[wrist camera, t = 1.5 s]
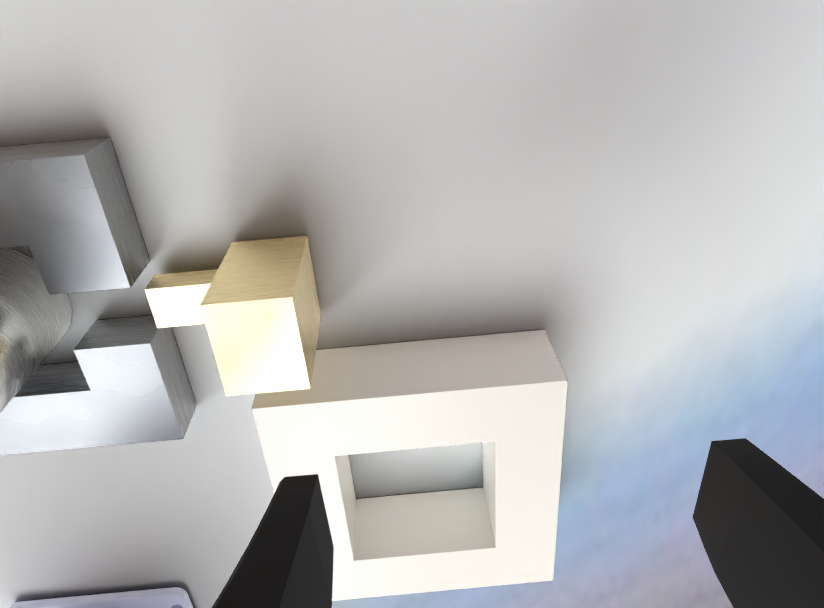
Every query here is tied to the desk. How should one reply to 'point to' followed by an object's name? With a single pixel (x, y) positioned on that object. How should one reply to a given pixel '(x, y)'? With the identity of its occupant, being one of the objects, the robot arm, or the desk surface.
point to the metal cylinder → (26, 321)
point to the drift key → (250, 313)
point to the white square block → (423, 428)
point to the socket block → (80, 272)
